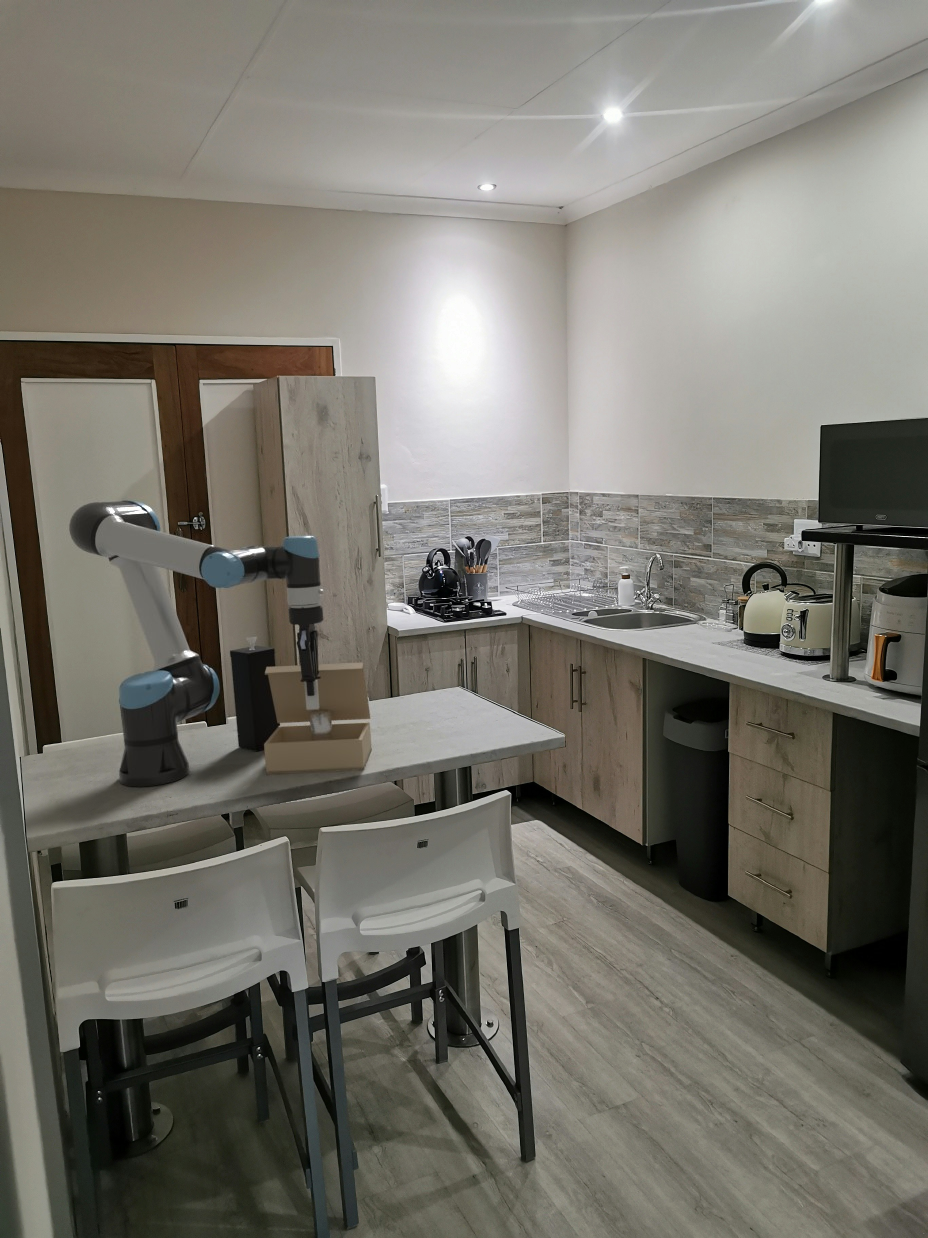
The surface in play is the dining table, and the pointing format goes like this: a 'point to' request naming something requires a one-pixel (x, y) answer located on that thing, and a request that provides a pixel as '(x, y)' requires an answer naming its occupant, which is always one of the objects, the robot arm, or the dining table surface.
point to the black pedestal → (253, 695)
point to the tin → (321, 725)
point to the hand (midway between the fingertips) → (313, 708)
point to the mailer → (318, 749)
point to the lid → (320, 692)
